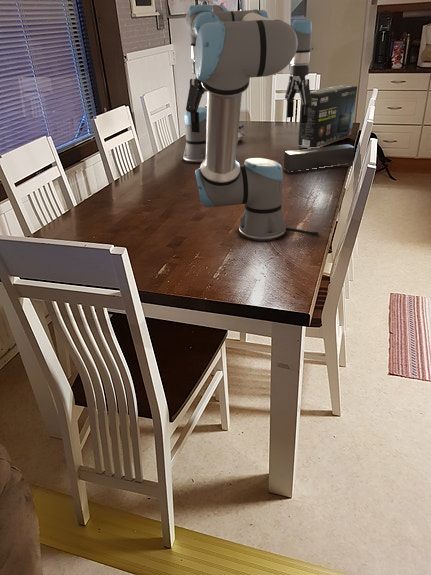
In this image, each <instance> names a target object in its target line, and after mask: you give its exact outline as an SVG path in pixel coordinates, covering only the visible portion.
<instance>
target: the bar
mask: <svg viewBox="0 0 431 575" xmlns="http://www.w3.org/2000/svg"><path fill="white" fill-rule="evenodd" d="M355 149H356V146H353V145H351V144H349V143H347V144H345V143H344V144H339V145H337V144H336V145H328V146H325V147H320V148H311V149H303V148H301V149H295V150H286V151H284V154H283V155H284V157H283V171H284V172H285V173H286V174H288V175H292V174H300V173H301V174H302V173H309V172H315V171H316V172H318V171H324V170H333V169H340V168H349V167H353V166H354V159H355ZM345 163H348V165H340V166H333V167H325V168H319V167H324V166H331V165H337V164H345ZM284 168H285V169H286V170H285V169H284ZM312 168H317V169H312ZM306 169H309V170H306ZM287 170H288V171H289V172H288V171H287ZM298 170H301V171H298ZM291 171H293V172H291Z"/></svg>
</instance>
